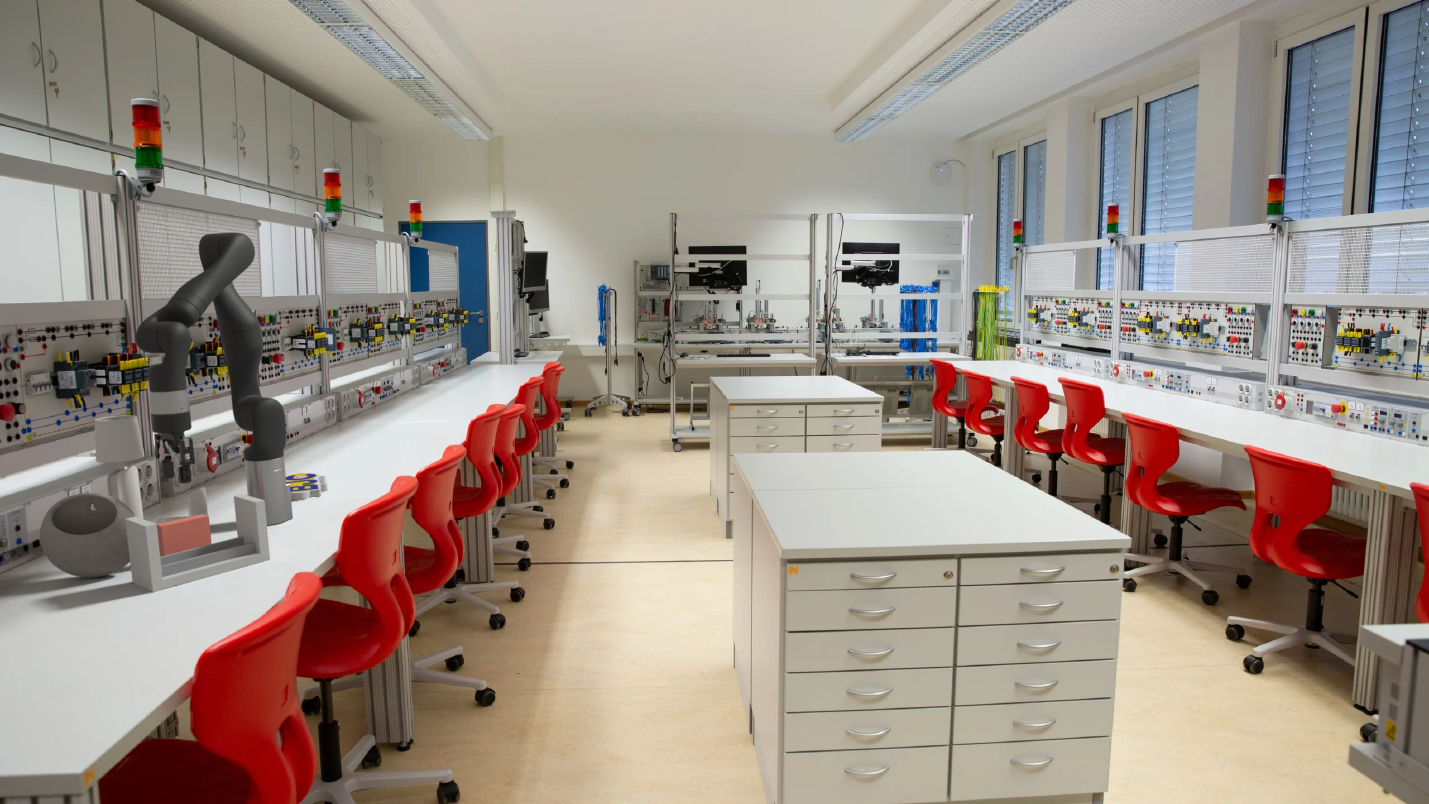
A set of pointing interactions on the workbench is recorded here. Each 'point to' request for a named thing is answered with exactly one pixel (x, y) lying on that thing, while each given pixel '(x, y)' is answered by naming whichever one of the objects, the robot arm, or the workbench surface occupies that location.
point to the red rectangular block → (183, 534)
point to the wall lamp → (124, 443)
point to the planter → (86, 535)
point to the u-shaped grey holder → (198, 549)
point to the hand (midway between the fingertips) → (177, 480)
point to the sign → (306, 485)
